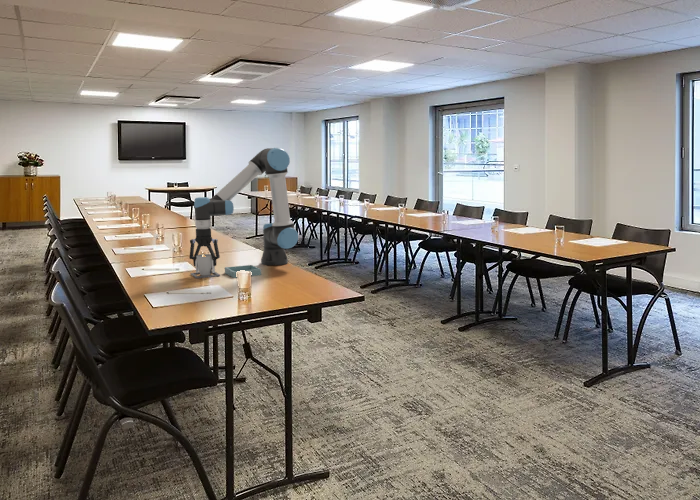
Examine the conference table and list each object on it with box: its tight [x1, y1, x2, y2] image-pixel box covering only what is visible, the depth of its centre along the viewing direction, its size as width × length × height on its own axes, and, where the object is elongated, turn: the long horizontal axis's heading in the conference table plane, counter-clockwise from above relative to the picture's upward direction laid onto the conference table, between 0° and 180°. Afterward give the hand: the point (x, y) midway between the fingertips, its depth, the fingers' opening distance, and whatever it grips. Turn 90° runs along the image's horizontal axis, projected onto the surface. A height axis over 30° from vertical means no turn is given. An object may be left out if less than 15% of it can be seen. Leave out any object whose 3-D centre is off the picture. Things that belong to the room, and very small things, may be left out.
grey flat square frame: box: [190, 271, 221, 279], centre depth 299 cm, size 12×12×1 cm
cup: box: [196, 253, 213, 276], centre depth 298 cm, size 8×8×10 cm
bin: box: [224, 264, 262, 279], centre depth 302 cm, size 15×15×3 cm
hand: (205, 272), depth 299 cm, fingers closed on cup, 8 cm apart
